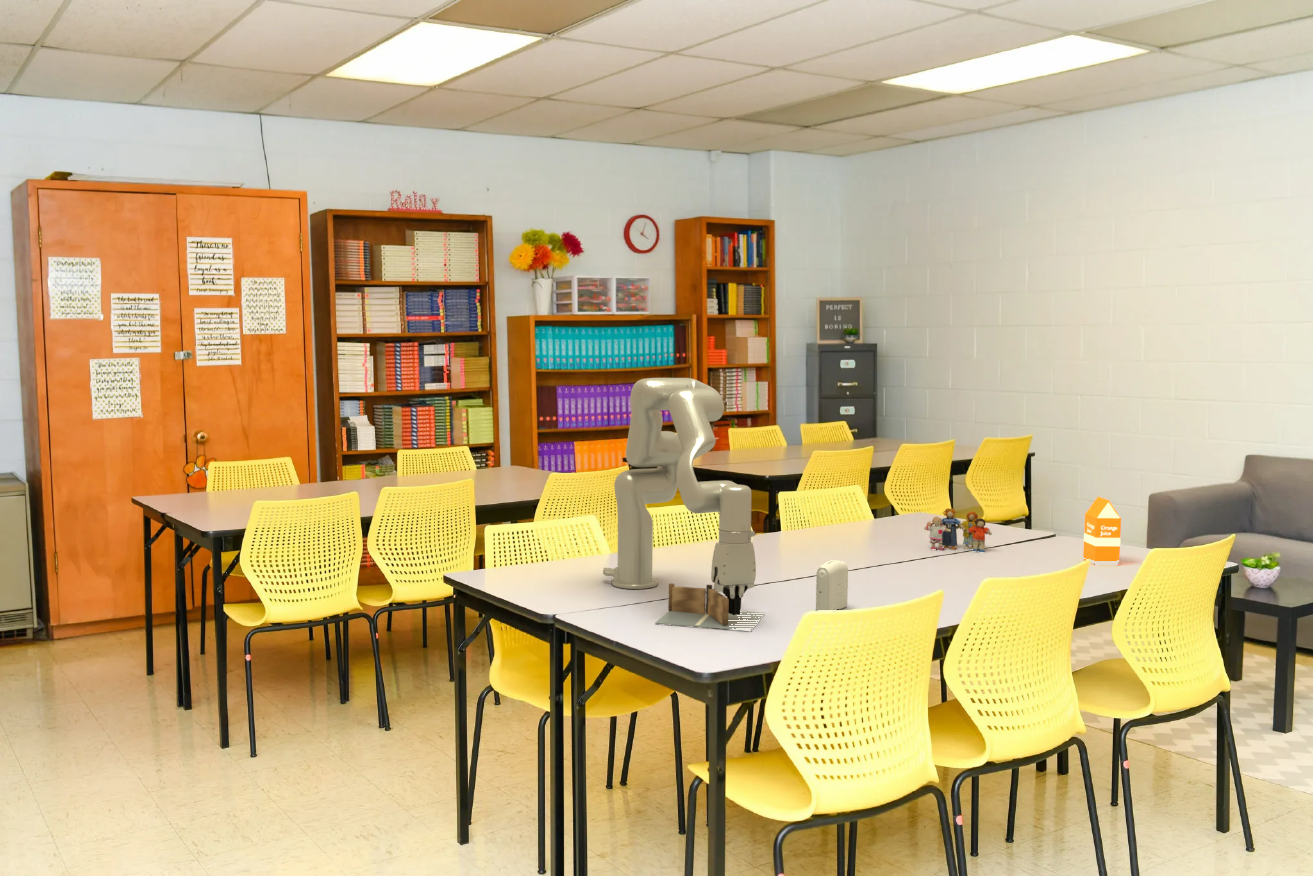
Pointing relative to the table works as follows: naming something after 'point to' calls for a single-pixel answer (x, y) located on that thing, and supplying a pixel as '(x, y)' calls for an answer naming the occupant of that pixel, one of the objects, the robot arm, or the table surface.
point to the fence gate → (718, 606)
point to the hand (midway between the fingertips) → (733, 613)
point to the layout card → (705, 620)
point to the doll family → (948, 534)
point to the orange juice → (1102, 532)
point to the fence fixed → (688, 599)
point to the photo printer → (832, 585)
